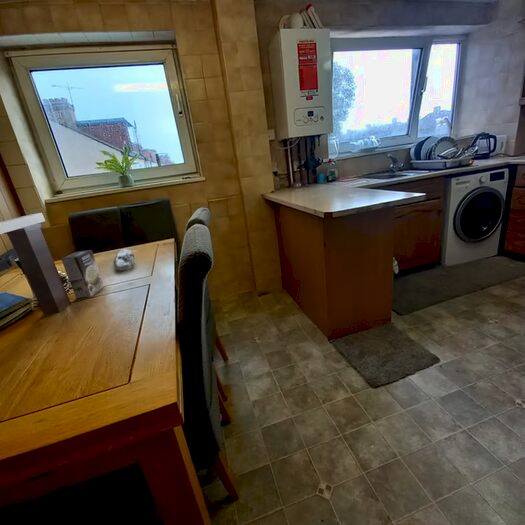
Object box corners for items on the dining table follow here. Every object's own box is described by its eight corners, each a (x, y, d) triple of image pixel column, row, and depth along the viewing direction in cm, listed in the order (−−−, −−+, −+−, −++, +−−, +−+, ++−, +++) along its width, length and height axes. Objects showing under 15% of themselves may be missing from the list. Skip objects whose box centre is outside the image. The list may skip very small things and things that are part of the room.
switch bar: (-18, 237, 78) (-23, 227, 76) (37, 222, 96) (33, 213, 95) (-8, 236, 77) (-13, 225, 76) (45, 221, 96) (42, 212, 95)
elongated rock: (135, 253, 161) (116, 258, 157) (132, 245, 159) (113, 250, 156) (137, 267, 130) (115, 274, 127) (134, 256, 129) (110, 263, 125)
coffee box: (91, 297, 106) (76, 257, 100) (75, 298, 106) (59, 259, 100) (105, 286, 114) (92, 249, 109) (90, 287, 115) (76, 251, 109)
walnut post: (41, 314, 96) (3, 230, 86) (55, 305, 102) (21, 225, 92) (60, 312, 96) (24, 228, 85) (72, 303, 102) (40, 223, 92)
